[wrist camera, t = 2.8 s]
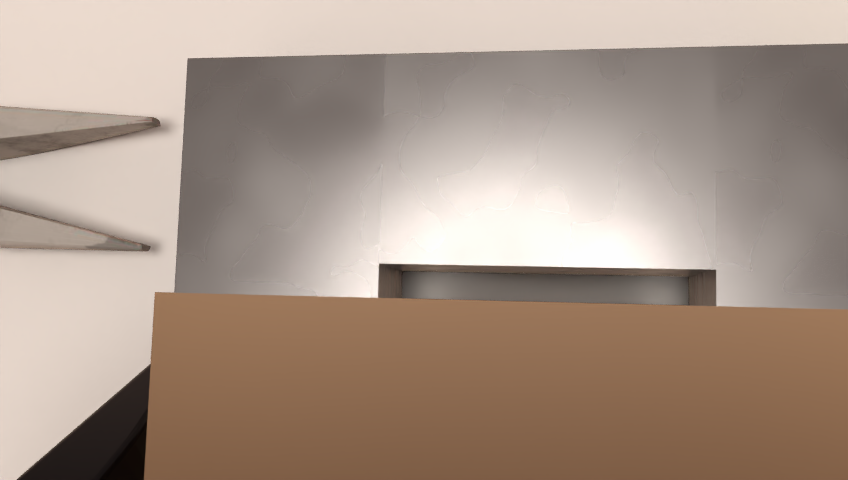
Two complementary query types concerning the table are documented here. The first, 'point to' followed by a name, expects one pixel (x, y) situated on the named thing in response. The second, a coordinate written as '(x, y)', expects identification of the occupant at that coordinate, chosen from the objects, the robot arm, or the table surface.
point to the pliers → (45, 131)
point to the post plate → (520, 170)
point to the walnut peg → (493, 390)
